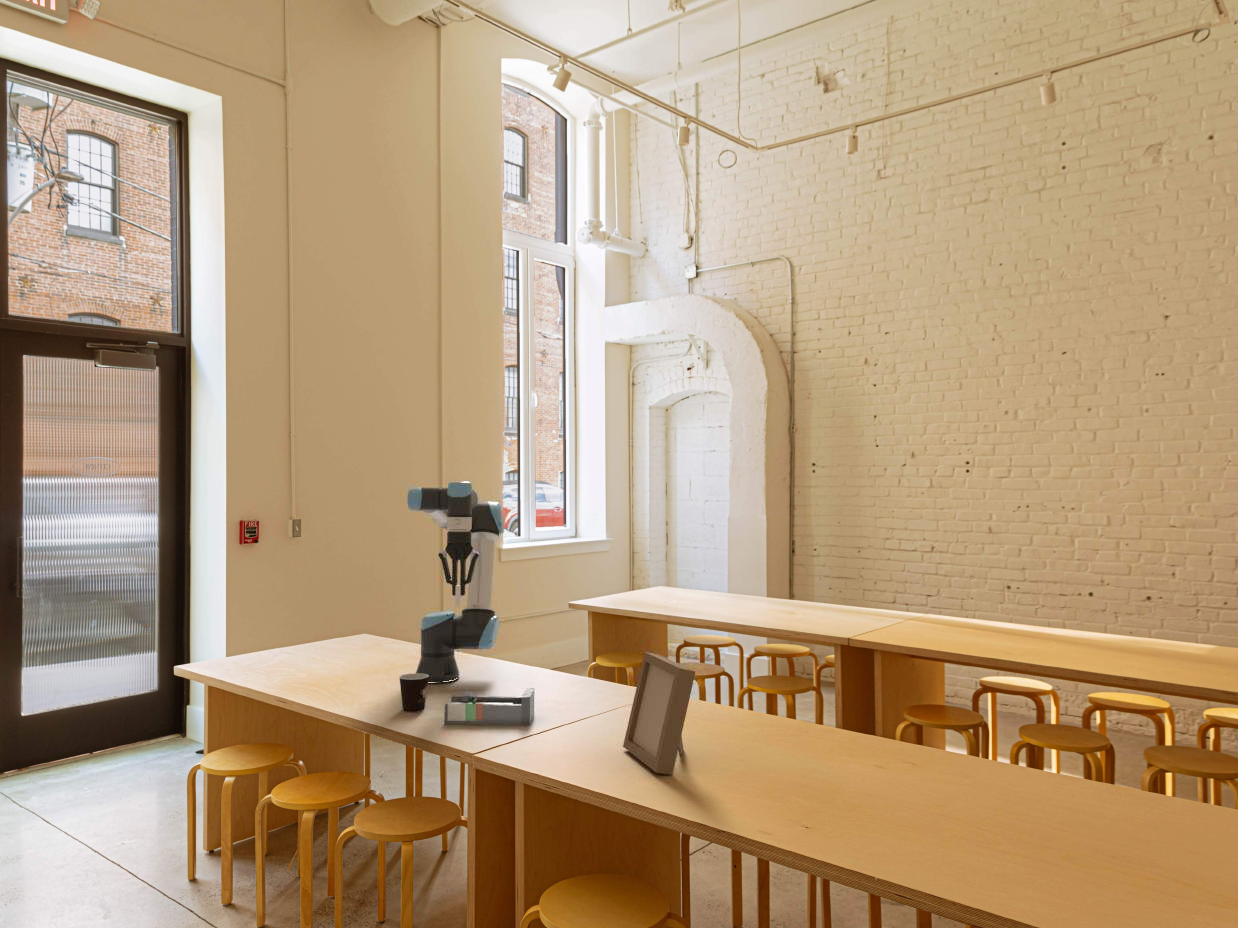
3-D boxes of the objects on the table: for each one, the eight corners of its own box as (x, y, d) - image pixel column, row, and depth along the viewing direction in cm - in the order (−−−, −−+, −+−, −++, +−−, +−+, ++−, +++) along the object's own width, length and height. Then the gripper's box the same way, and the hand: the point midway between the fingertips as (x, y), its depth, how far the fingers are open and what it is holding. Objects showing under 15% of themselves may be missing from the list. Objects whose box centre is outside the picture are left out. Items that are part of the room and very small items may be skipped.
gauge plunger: (465, 711, 254) (466, 690, 254) (513, 711, 253) (513, 691, 254) (459, 720, 244) (459, 698, 244) (508, 720, 244) (508, 699, 244)
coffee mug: (411, 714, 255) (411, 680, 256) (393, 709, 261) (393, 676, 261) (441, 706, 265) (442, 674, 265) (423, 702, 270) (423, 670, 270)
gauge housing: (452, 714, 256) (452, 687, 256) (534, 715, 256) (534, 688, 256) (444, 724, 245) (444, 696, 245) (529, 725, 244) (529, 697, 245)
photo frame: (655, 776, 202) (657, 669, 203) (622, 750, 222) (624, 652, 223) (712, 770, 207) (714, 666, 208) (675, 745, 227) (676, 650, 228)
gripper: (435, 531, 266) (435, 607, 266) (477, 531, 266) (477, 607, 265) (441, 529, 274) (440, 604, 273) (482, 530, 274) (481, 604, 273)
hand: (458, 605), depth 269 cm, fingers closed
